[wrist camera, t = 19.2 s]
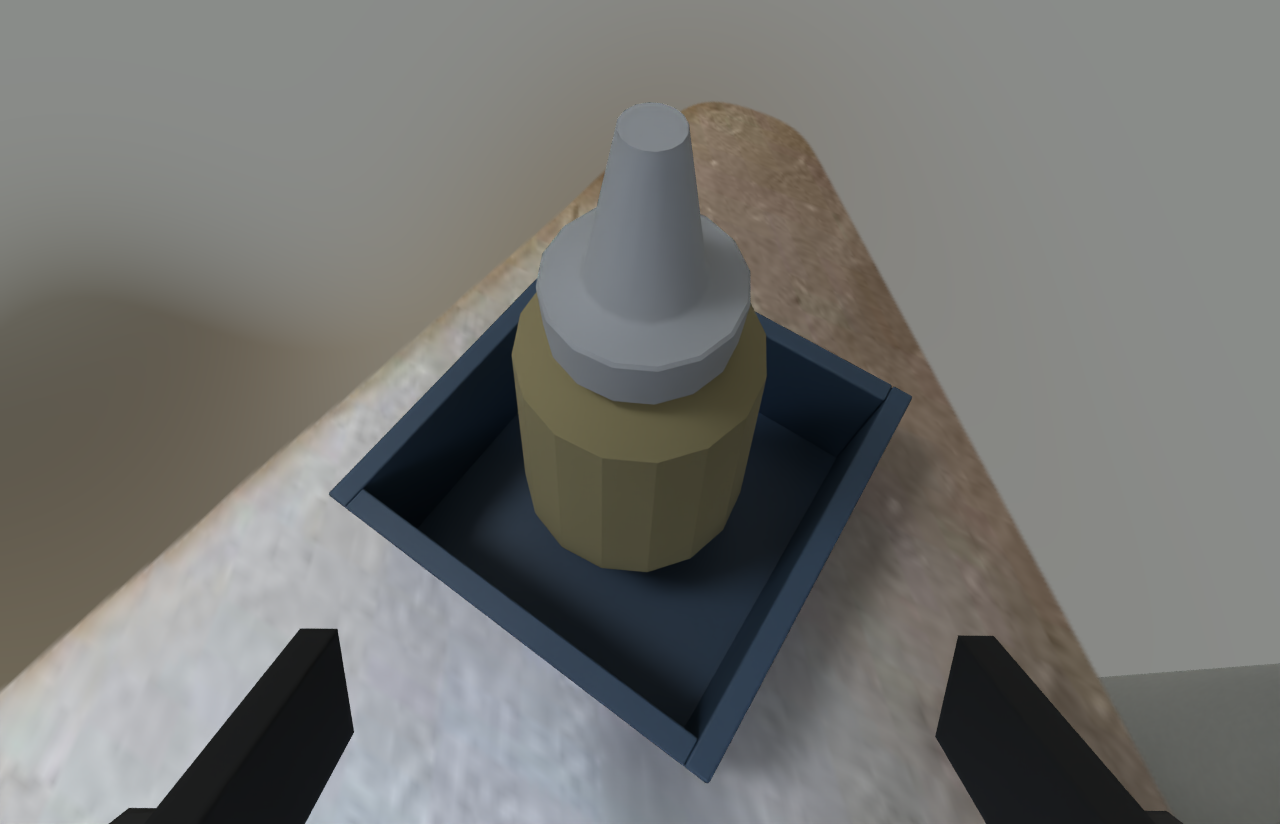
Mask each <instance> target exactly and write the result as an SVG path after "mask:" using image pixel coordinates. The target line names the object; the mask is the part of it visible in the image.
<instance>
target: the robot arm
mask: <svg viewBox="0 0 1280 824" xmlns="http://www.w3.org/2000/svg"><path fill="white" fill-rule="evenodd" d="M353 733H354V729H353V723H352V717H351V710H350V704H349V698H348V692H347V686H346V679H345V673H344V667H343V661H342V654H341V648H340V642H339V636H338V629H300V630H299V631H298V632H297V633H296V635H295V636H294V637H293V638H292V640H291V641H290V642H289V643H288V645H287V646H286V647H285V648H284V650H283V651H282V652H281V653H280V655H279V656H278V657H277V658H276V660H275V661H274V662H273V663H272V665H271V666H270V667H269V668H268V670H267V671H266V672H265V673H264V675H263V676H262V677H261V678H260V680H259V681H258V682H257V683H256V685H255V686H254V687H253V688H252V690H251V691H250V692H249V693H248V695H247V696H246V697H245V698H244V700H243V701H242V702H241V703H240V705H239V706H238V707H237V708H236V709H235V711H234V712H233V713H232V714H231V716H230V717H229V718H228V719H227V721H226V722H225V723H224V724H223V726H222V727H221V728H220V729H219V731H218V732H217V733H216V734H215V736H214V737H213V738H212V739H211V741H210V742H209V743H208V744H207V746H206V747H205V748H204V749H203V751H202V752H201V753H200V754H199V756H198V757H197V758H196V759H195V761H194V762H193V763H192V764H191V766H190V767H189V768H188V769H187V771H186V772H185V773H184V774H183V776H182V777H181V778H180V779H179V781H178V782H177V783H176V784H175V786H174V787H173V788H172V789H171V791H170V792H169V793H168V794H167V796H166V797H165V798H164V799H163V801H162V802H161V803H160V804H159V806H158V807H157V808H128V809H127V810H126V811H125V812H123V813H122V814H121V815H119V816H118V817H117V818H116V819H114V820H113V821H112V822H111V823H109V824H305V822H306V821H307V819H308V817H309V815H310V813H311V811H312V809H313V808H314V806H315V804H316V802H317V800H318V798H319V796H320V795H321V793H322V791H323V789H324V787H325V785H326V783H327V782H328V780H329V778H330V776H331V774H332V772H333V770H334V768H335V767H336V765H337V763H338V761H339V759H340V757H341V755H342V754H343V752H344V750H345V748H346V746H347V744H348V742H349V741H350V739H351V737H352V735H353ZM935 737H936V738H937V740H938V742H939V744H940V745H941V747H942V749H943V750H944V752H945V754H946V756H947V757H948V759H949V761H950V762H951V764H952V766H953V768H954V769H955V771H956V773H957V774H958V776H959V778H960V780H961V781H962V783H963V785H964V786H965V788H966V790H967V792H968V793H969V795H970V797H971V798H972V800H973V802H974V804H975V805H976V807H977V809H978V810H979V812H980V814H981V816H982V817H983V819H984V821H985V822H986V824H1183V823H1182V822H1180V821H1179V820H1178V819H1176V818H1175V817H1174V816H1173V815H1171V814H1170V813H1169V812H1167V811H1144V810H1143V809H1142V807H1141V806H1140V805H1139V804H1138V803H1137V802H1136V800H1135V799H1134V798H1133V797H1132V796H1131V795H1130V794H1129V792H1128V791H1127V790H1126V789H1125V788H1124V787H1123V785H1122V784H1121V783H1120V782H1119V781H1118V780H1117V778H1116V777H1115V776H1114V775H1113V774H1112V773H1111V771H1110V770H1109V769H1108V768H1107V767H1106V766H1105V765H1104V763H1103V762H1102V761H1101V760H1100V759H1099V758H1098V756H1097V755H1096V754H1095V753H1094V752H1093V751H1092V749H1091V748H1090V747H1089V746H1088V745H1087V744H1086V742H1085V741H1084V740H1083V739H1082V738H1081V737H1080V736H1079V734H1078V733H1077V732H1076V731H1075V730H1074V729H1073V727H1072V726H1071V725H1070V724H1069V723H1068V722H1067V720H1066V719H1065V718H1064V717H1063V716H1062V715H1061V713H1060V712H1059V711H1058V710H1057V709H1056V708H1055V707H1054V705H1053V704H1052V703H1051V702H1050V701H1049V700H1048V698H1047V697H1046V696H1045V695H1044V694H1043V693H1042V691H1041V690H1040V689H1039V688H1038V687H1037V686H1036V684H1035V683H1034V682H1033V681H1032V680H1031V679H1030V678H1029V676H1028V675H1027V674H1026V673H1025V672H1024V671H1023V669H1022V668H1021V667H1020V666H1019V665H1018V664H1017V662H1016V661H1015V660H1014V659H1013V658H1012V657H1011V655H1010V654H1009V653H1008V652H1007V651H1006V650H1005V649H1004V647H1003V646H1002V645H1001V644H1000V643H999V642H998V640H997V639H996V638H995V637H994V636H958V639H957V643H956V648H955V652H954V657H953V661H952V665H951V670H950V674H949V679H948V683H947V687H946V692H945V696H944V700H943V705H942V709H941V714H940V718H939V722H938V727H937V731H936V736H935Z"/></svg>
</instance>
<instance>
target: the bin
mask: <svg viewBox="0 0 1280 824" xmlns="http://www.w3.org/2000/svg"><path fill="white" fill-rule="evenodd" d="M536 283H537V279H536V280H535V281H534V282H533V283H532V284H531V285H530V286H529V287H528V288H527V289H526V290H525V291H524V292H523V293H522V294H521V295H520V296H519V297H518V298H517V299H516V301H515V302H514V303H513V304H512V305H511V306H510V307H509V308H508V309H507V310H506V311H505V312H504V313H503V314H502V315H501V316H500V317H499V318H498V319H497V320H496V321H495V322H494V323H493V324H492V325H491V326H490V327H489V328H488V329H487V330H486V332H485V333H484V334H483V335H482V336H481V337H480V338H479V339H478V340H477V341H476V342H475V343H474V344H473V345H472V346H471V347H470V348H469V349H468V350H467V351H466V352H465V353H464V354H463V355H462V356H461V357H460V358H459V359H458V360H457V361H456V362H455V364H454V365H453V366H452V367H451V368H450V369H449V370H448V371H447V372H446V373H445V374H444V375H443V376H442V377H441V378H440V379H439V380H438V381H437V382H436V383H435V384H434V385H433V386H432V387H431V388H430V389H429V390H428V391H427V392H426V393H425V394H424V396H423V397H422V398H421V399H420V400H419V401H418V402H417V403H416V404H415V405H414V406H413V407H412V408H411V409H410V410H409V411H408V412H407V413H406V414H405V415H404V416H403V417H402V418H401V419H400V420H399V421H398V422H397V423H396V424H395V425H394V427H393V428H392V429H391V430H390V431H389V432H388V433H387V434H386V435H385V436H384V437H383V438H382V439H381V440H380V441H379V442H378V443H377V444H376V445H375V446H374V447H373V448H372V449H371V450H370V451H369V452H368V453H367V454H366V455H365V456H364V457H363V459H362V460H361V461H360V462H359V463H358V464H357V465H356V466H355V467H354V468H353V469H352V470H351V471H350V472H349V473H348V474H347V475H346V476H345V477H344V478H343V479H342V480H341V481H340V482H339V483H338V484H337V485H336V486H335V487H334V488H333V489H332V491H331V492H330V493H329V495H330V496H331V497H332V498H333V499H335V500H336V501H337V502H339V503H340V504H341V505H343V506H344V507H345V508H347V509H348V510H349V511H350V512H352V513H353V514H354V515H356V516H357V517H358V518H360V519H361V520H362V521H363V522H365V523H366V524H367V525H369V526H370V527H371V528H373V529H374V530H375V531H377V532H378V533H379V534H380V535H382V536H383V537H384V538H386V539H387V540H388V541H390V542H391V543H392V544H394V545H395V546H396V547H397V548H399V549H400V550H401V551H403V552H404V553H405V554H407V555H408V556H409V557H411V558H412V559H413V560H414V561H416V562H417V563H418V564H420V565H421V566H422V567H424V568H425V569H426V570H428V571H429V572H430V573H431V574H433V575H434V576H435V577H437V578H438V579H439V580H441V581H442V582H443V583H445V584H446V585H447V586H448V587H450V588H451V589H452V590H454V591H455V592H456V593H458V594H459V595H460V596H462V597H463V598H464V599H465V600H467V601H468V602H469V603H471V604H472V605H473V606H475V607H476V608H477V609H479V610H480V611H481V612H483V613H484V614H485V615H486V616H488V617H489V618H490V619H492V620H493V621H494V622H496V623H497V624H498V625H500V626H501V627H502V628H503V629H505V630H506V631H507V632H509V633H510V634H511V635H513V636H514V637H515V638H517V639H518V640H519V641H520V642H522V643H523V644H524V645H526V646H527V647H528V648H530V649H531V650H532V651H534V652H535V653H536V654H537V655H539V656H540V657H541V658H543V659H544V660H545V661H547V662H548V663H549V664H551V665H552V666H553V667H554V668H556V669H557V670H558V671H560V672H561V673H562V674H564V675H565V676H566V677H568V678H569V679H570V680H571V681H573V682H574V683H575V684H577V685H578V686H579V687H581V688H582V689H583V690H585V691H586V692H587V693H588V694H590V695H591V696H592V697H594V698H595V699H596V700H598V701H599V702H600V703H602V704H603V705H604V706H605V707H607V708H608V709H609V710H611V711H612V712H613V713H615V714H616V715H617V716H619V717H620V718H621V719H622V720H624V721H625V722H626V723H628V724H629V725H630V726H632V727H633V728H634V729H636V730H637V731H638V732H639V733H641V734H642V735H643V736H645V737H646V738H647V739H649V740H650V741H651V742H653V743H654V744H655V745H656V746H658V747H659V748H660V749H662V750H663V751H664V752H666V753H667V754H668V755H670V756H671V757H672V758H673V759H675V760H676V761H677V762H679V763H680V764H681V765H683V766H684V767H685V768H687V769H688V770H689V771H691V772H692V773H693V774H694V775H696V776H697V777H698V778H700V779H701V780H702V781H704V782H705V783H709V782H710V780H711V779H712V777H713V775H714V773H715V771H716V769H717V767H718V765H719V763H720V761H721V760H722V758H723V756H724V754H725V752H726V750H727V748H728V746H729V744H730V743H731V741H732V739H733V737H734V735H735V733H736V731H737V729H738V727H739V725H740V724H741V722H742V720H743V718H744V716H745V714H746V712H747V710H748V708H749V707H750V705H751V703H752V701H753V699H754V697H755V695H756V693H757V691H758V689H759V688H760V686H761V684H762V682H763V680H764V678H765V676H766V674H767V672H768V670H769V669H770V667H771V665H772V663H773V661H774V659H775V657H776V655H777V653H778V652H779V650H780V648H781V646H782V644H783V642H784V640H785V638H786V636H787V634H788V633H789V631H790V629H791V627H792V625H793V623H794V621H795V619H796V617H797V616H798V614H799V612H800V610H801V608H802V606H803V604H804V602H805V600H806V598H807V597H808V595H809V593H810V591H811V589H812V587H813V585H814V583H815V581H816V580H817V578H818V576H819V574H820V572H821V570H822V568H823V566H824V564H825V562H826V561H827V559H828V557H829V555H830V553H831V551H832V549H833V547H834V545H835V543H836V542H837V540H838V538H839V536H840V534H841V532H842V530H843V528H844V526H845V525H846V523H847V521H848V519H849V517H850V515H851V513H852V511H853V509H854V507H855V506H856V504H857V502H858V500H859V498H860V496H861V494H862V492H863V490H864V489H865V487H866V485H867V483H868V481H869V479H870V477H871V475H872V473H873V471H874V470H875V468H876V466H877V464H878V462H879V460H880V458H881V456H882V454H883V453H884V451H885V449H886V447H887V445H888V443H889V441H890V439H891V437H892V435H893V434H894V432H895V430H896V428H897V426H898V424H899V422H900V420H901V418H902V417H903V415H904V413H905V411H906V409H907V407H908V405H909V403H910V401H911V399H912V396H911V395H909V394H907V393H905V392H903V391H901V390H900V389H898V388H896V387H893V388H892V386H891V385H890V384H888V383H887V382H885V381H883V380H881V379H879V378H877V377H875V376H874V375H872V374H870V373H868V372H866V371H864V370H862V369H861V368H859V367H857V366H855V365H853V364H851V363H849V362H848V361H846V360H844V359H842V358H840V357H838V356H836V355H835V354H833V353H831V352H829V351H827V350H825V349H823V348H822V347H820V346H818V345H816V344H814V343H812V342H810V341H809V340H807V339H805V338H803V337H801V336H799V335H797V334H796V333H794V332H792V331H790V330H788V329H786V328H785V327H783V326H781V325H779V324H777V323H775V322H773V321H772V320H770V319H768V318H766V317H764V316H762V315H760V314H759V313H757V312H755V313H756V315H757V317H758V319H759V321H760V323H761V325H762V327H763V329H764V331H765V333H766V366H767V377H766V382H765V386H764V391H763V395H762V399H761V404H760V408H759V412H758V417H757V421H756V426H755V430H754V434H753V439H752V443H751V448H750V452H749V456H748V461H747V465H746V469H745V474H744V478H743V483H742V487H741V491H740V494H739V496H738V498H737V501H736V503H735V505H734V507H733V509H732V512H731V514H730V516H729V518H728V520H727V522H726V525H725V527H724V529H723V530H722V531H721V532H720V533H719V534H718V535H717V536H716V537H714V538H713V539H712V540H711V541H710V542H709V543H708V544H706V545H705V546H704V547H703V548H702V549H701V550H699V551H698V552H697V553H696V554H695V555H694V556H693V557H691V558H690V559H687V560H684V561H681V562H678V563H675V564H671V565H668V566H665V567H662V568H659V569H656V570H653V571H650V572H639V571H628V570H617V569H606V568H600V567H599V566H597V565H595V564H593V563H591V562H589V561H587V560H585V559H584V558H582V557H580V556H578V555H576V554H574V553H572V552H570V551H569V550H567V549H565V548H563V547H562V546H561V545H560V544H559V543H558V541H557V540H556V539H555V538H554V536H553V535H552V534H551V532H550V531H549V530H548V529H547V527H546V526H545V525H544V524H543V522H542V521H541V520H540V519H539V517H538V516H537V515H536V514H535V510H534V506H533V502H532V498H531V494H530V490H529V486H528V482H527V478H526V474H525V466H524V457H523V449H522V440H521V431H520V423H519V414H518V406H517V397H516V388H515V380H514V371H513V362H512V351H513V346H514V341H515V336H516V332H517V327H518V322H519V318H520V313H521V312H522V311H523V309H524V308H525V307H526V305H527V304H528V303H529V301H530V300H531V299H532V297H533V296H534V295H535V293H536V292H537V291H536Z"/></svg>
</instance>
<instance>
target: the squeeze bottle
mask: <svg viewBox="0 0 1280 824" xmlns="http://www.w3.org/2000/svg"><path fill="white" fill-rule="evenodd" d="M536 291H537V292H536V293H535V295H534V296H533V297H532V299H531V300H530V301H529V303H528V304H527V305H526V307H525V308H524V309H523V311H522V312H521V313H520V318H519V322H518V327H517V332H516V336H515V341H514V346H513V351H512V362H513V371H514V380H515V388H516V397H517V406H518V414H519V423H520V431H521V440H522V449H523V457H524V466H525V474H526V478H527V482H528V486H529V490H530V494H531V498H532V502H533V506H534V510H535V514H536V515H537V516H538V517H539V519H540V520H541V521H542V522H543V524H544V525H545V526H546V527H547V529H548V530H549V531H550V532H551V534H552V535H553V536H554V538H555V539H556V540H557V541H558V543H559V544H560V545H561V546H562V547H563V548H565V549H567V550H569V551H570V552H572V553H574V554H576V555H578V556H580V557H582V558H584V559H585V560H587V561H589V562H591V563H593V564H595V565H597V566H599V567H600V568H606V569H617V570H628V571H639V572H650V571H653V570H656V569H659V568H662V567H665V566H668V565H671V564H675V563H678V562H681V561H684V560H687V559H690V558H691V557H693V556H694V555H695V554H696V553H697V552H698V551H699V550H701V549H702V548H703V547H704V546H705V545H706V544H708V543H709V542H710V541H711V540H712V539H713V538H714V537H716V536H717V535H718V534H719V533H720V532H721V531H722V530H723V529H724V527H725V525H726V522H727V520H728V518H729V516H730V514H731V512H732V509H733V507H734V505H735V503H736V501H737V498H738V496H739V494H740V491H741V487H742V483H743V478H744V474H745V469H746V465H747V461H748V456H749V452H750V448H751V443H752V439H753V434H754V430H755V426H756V421H757V417H758V412H759V408H760V404H761V399H762V395H763V391H764V386H765V382H766V377H767V366H766V333H765V331H764V329H763V327H762V325H761V323H760V321H759V319H758V317H757V315H756V313H755V311H754V309H753V307H752V305H751V303H750V270H749V268H748V266H747V264H746V262H745V260H744V258H743V256H742V254H741V252H740V250H739V248H738V246H737V244H736V242H735V241H734V240H733V239H732V238H731V237H730V236H728V235H727V234H726V233H725V232H724V231H723V230H721V229H720V228H719V227H718V226H717V225H716V224H714V223H713V222H712V221H711V220H710V219H709V218H707V217H706V216H704V215H701V214H700V209H699V201H698V193H697V185H696V177H695V169H694V161H693V153H692V145H691V137H690V129H689V124H688V122H687V120H686V118H685V116H684V115H683V114H682V113H681V112H679V111H678V110H677V109H675V108H673V107H671V106H668V105H665V104H662V103H651V102H648V103H642V104H637V105H634V106H632V107H630V108H628V109H627V110H625V111H624V112H623V113H622V114H621V116H619V118H618V120H617V124H616V128H615V133H614V136H613V141H612V145H611V150H610V153H609V158H608V162H607V166H606V170H605V174H604V179H603V183H602V187H601V191H600V196H599V200H598V204H597V207H596V208H594V209H593V210H591V211H589V212H588V213H586V214H584V215H582V216H581V217H579V218H577V219H576V220H574V221H572V222H571V223H569V224H567V225H565V226H564V227H563V228H562V229H561V230H560V232H559V233H558V234H557V236H556V237H555V238H554V240H553V241H552V242H551V243H550V245H549V246H548V247H547V249H546V250H545V251H544V252H543V254H542V258H541V263H540V268H539V273H538V278H537V283H536Z"/></svg>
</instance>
